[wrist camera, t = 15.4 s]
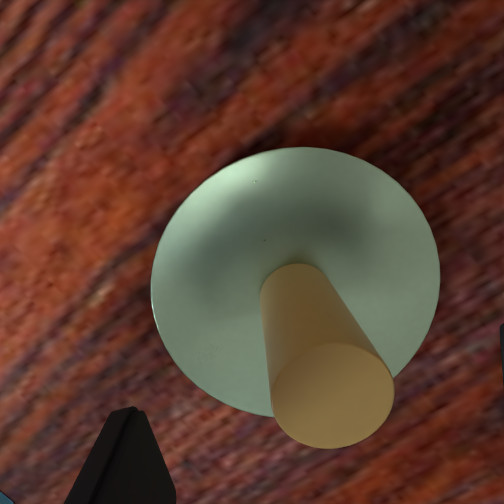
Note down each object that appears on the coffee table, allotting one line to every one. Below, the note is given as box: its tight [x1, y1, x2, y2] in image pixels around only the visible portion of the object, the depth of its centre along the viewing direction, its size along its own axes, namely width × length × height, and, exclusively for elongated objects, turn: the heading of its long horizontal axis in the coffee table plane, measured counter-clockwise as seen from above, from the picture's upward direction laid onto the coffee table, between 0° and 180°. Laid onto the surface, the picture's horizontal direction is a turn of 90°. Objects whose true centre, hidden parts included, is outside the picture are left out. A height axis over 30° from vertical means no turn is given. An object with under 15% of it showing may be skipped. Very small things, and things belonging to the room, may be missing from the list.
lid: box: [151, 147, 440, 449], centre depth 13 cm, size 13×13×8 cm
